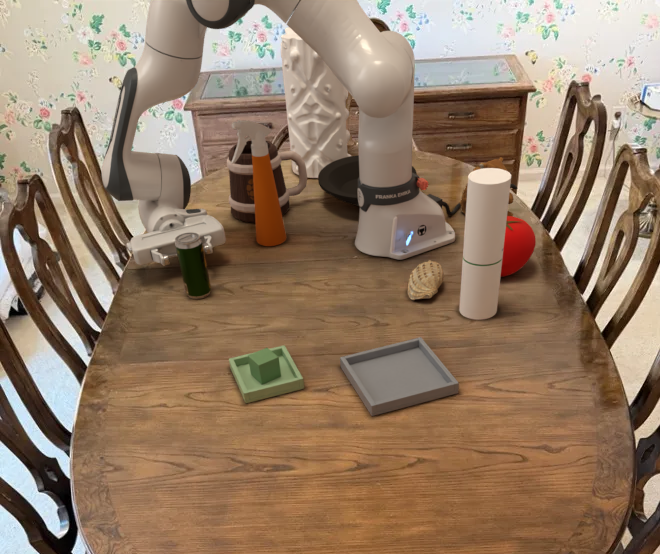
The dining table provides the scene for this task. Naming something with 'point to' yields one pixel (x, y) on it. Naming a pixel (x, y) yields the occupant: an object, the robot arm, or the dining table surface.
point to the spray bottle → (261, 183)
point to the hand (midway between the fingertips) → (187, 255)
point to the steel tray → (398, 376)
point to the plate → (342, 179)
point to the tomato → (517, 245)
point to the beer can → (193, 265)
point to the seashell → (425, 280)
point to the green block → (264, 365)
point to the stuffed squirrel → (490, 164)
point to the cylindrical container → (484, 241)
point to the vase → (313, 106)
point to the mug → (244, 186)
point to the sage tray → (278, 386)
